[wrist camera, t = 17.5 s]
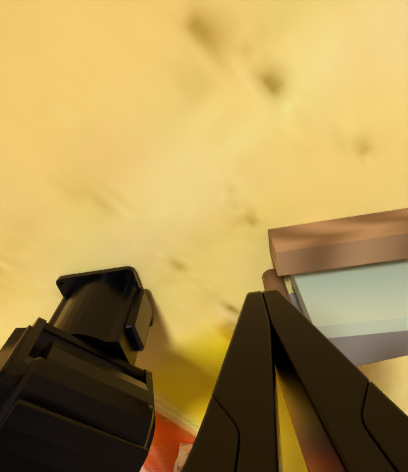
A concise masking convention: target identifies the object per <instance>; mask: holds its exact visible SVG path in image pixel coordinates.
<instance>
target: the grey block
mask: <svg viewBox="0 0 408 472" xmlns="http://www.w3.org/2000/svg"><path fill="white" fill-rule="evenodd" d="M289 296H290V299H291V302H292V304H293V305H294V306H295V307H296V308H297V309H298V310H299V311H300V312H301V313H302V314H303V311H302V309H301V306H300V303H299V301H298V298H297V295H296V293H292V294H289ZM303 315H304V314H303ZM328 339H329V340H330V341H331V342H332V343H333V344H334V345H335V346H336V347H337V348H338V349H339V350H340V351H341V352H342V353H343V354H344V355H345V356H346V357H347V358H348V359H349V360H350V361H351V362H352V363H353V364H354V365H355V366H359V365H364V364H369V363H373V362H378V361H383V360H387V359H392V358H397V357H402V356H406V355H408V330H407V331H397V332H386V333H376V334H366V335H356V336H346V337H335V338H328Z"/></svg>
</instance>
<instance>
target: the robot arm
mask: <svg viewBox="0 0 408 472" xmlns="http://www.w3.org/2000/svg"><path fill="white" fill-rule="evenodd" d="M126 272H130V273H131V274H128V273H126ZM63 282H64V283H63ZM56 285H57V286H58V288H59V290H60V292H61V294H62V295H63V299H62V301H61V303H60V304H59V306H58V308H57V309H56V311H55V313H54V314H53V316H52V318H51V319H50V321H49V323H46V320H44V319H42V318H40V317H39V318H38V319H37V320H36V322H35V323H34V324H33V325H32V326H30V325H29V326H28V327H27V328H16V329H15V330H14V331H13V333H12V334H11V336H10V337H9V338H8V340H7V341H6V343H5V344H4V346H3V347H2V348H1V350H0V472H139V471H140V469H141V467H142V465H143V463H144V462H145V460H146V458H147V455H148V452H149V449H150V446H151V443H152V440H153V436H154V430H155V409H154V395H153V382H152V373H151V372H149V371H147V370H142V369H140V368H138V367H136V366H135V361H136V357H137V353H138V351H143V349H144V348H145V344H146V339H147V335H148V330H149V327H151V326H152V324H153V317H152V308H151V305H150V302H149V300H148V297H147V294H146V292H145V290H144V289H143V288H141V285H140V283H139V280H138V278H137V275H136V272H135V270H134V268H132V267H130V266H126V267H119V268H112V269H105V270H99V271H92V272H85V273H78V274H72V275H65V276H60V277H59V278H58V279H57V281H56ZM275 369H276V372H275ZM276 373H277V376H278V379H279V383H280V386H281V389H282V392H283V395H284V398H285V401H286V404H287V407H288V410H289V413H290V417H291V420H292V423H293V426H294V429H295V432H296V435H297V438H298V441H299V444H300V447H301V451H302V454H303V457H304V460H305V463H306V466H307V469H308V472H408V416H407V415H406V414H405V413H404V412H403V411H402V410H401V409H400V408H399V407H398V406H396V405H395V404H394V403H393V402H392V401H391V400H390V399H389V398H388V397H387V396H386V395H385V394H384V393H383V392H382V391H381V390H380V389H379V388H378V387H377V386H376V385H375V384H374V383H373V382H369V379H368V378H367V377H366V376H365V375H364V374H363V373H362V372H361V371H360V370H359V369H358V368H357V367H356V366H355V365H354V364H353V363H352V362H351V361H350V360H349V359H348V358H347V357H346V356H345V355H344V354H343V353H342V352H341V351H340V350H339V349H338V348H337V347H336V346H335V345H334V344H333V343H332V342H331V341H330V340H329V339H328V338H327V337H326V336H325V335H324V334H323V333H322V332H321V331H320V330H319V329H317V328H316V327H315V326H314V325H313V324H312V323H311V322H310V321H309V320H308V319H307V318H306V317H305V316H304V315H303V314H302V313H301V312H300V311H299V310H298V309H297V308H296V307H295V306H294V305H293V304H292V303H291V302H290V301H289V300H288V299H287V298H286V297H285V296H284V295H283V294H282V293H281V292H280V291H279V290H277V289H272V290H265V291H263V293H262V292H261V291H257V292H249V293H248V294H247V295H246V298H245V301H244V304H243V307H242V310H241V312H240V315H239V318H238V321H237V324H236V327H235V330H234V333H233V336H232V338H231V341H230V344H229V347H228V350H227V353H226V356H225V359H224V362H223V364H222V367H221V370H220V373H219V376H218V379H217V382H216V385H215V388H214V390H213V393H212V398H211V399H210V402H209V404H208V407H207V410H206V413H205V416H204V418H203V421H202V424H201V426H200V429H199V431H198V434H197V437H196V439H195V441H194V443H193V446H192V448H191V450H190V452H189V454H188V457H187V459H186V461H185V463H184V465H183V467H182V469H181V472H283V465H282V451H281V438H280V424H279V410H278V396H277V383H276Z"/></svg>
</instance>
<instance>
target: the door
mask: <svg viewBox="0 0 408 472" xmlns="http://www.w3.org/2000/svg"><path fill="white" fill-rule="evenodd" d="M291 282H292V285H293V287H294V290H295V293H296V295H297V298H298V301H299V303H300V306H301V309H302V311H303V314H304V316H305V317H306V318H307V319H308V320H309V321H310V322H311V323H312V324H313V325H314V326H315V327H316V328H317V329H319V330H320V331H321V332H322V333H323V334H324V335H325V336H326V337H327V338H335V337H346V336H356V335H366V334H376V333H386V332H397V331H407V330H408V258H406V259H399V260H391V261H384V262H377V263H370V264H362V265H355V266H348V267H341V268H333V269H326V270H319V271H312V272H304V273H297V274H291Z"/></svg>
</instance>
